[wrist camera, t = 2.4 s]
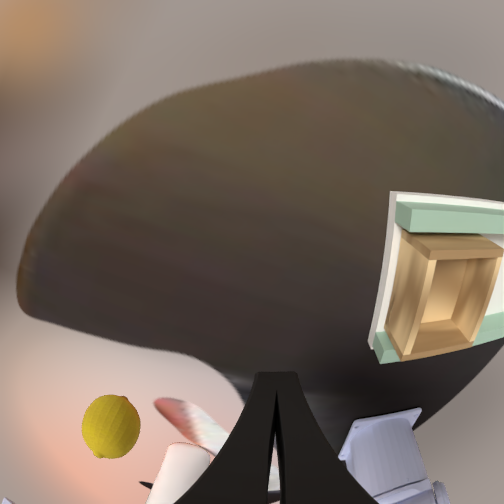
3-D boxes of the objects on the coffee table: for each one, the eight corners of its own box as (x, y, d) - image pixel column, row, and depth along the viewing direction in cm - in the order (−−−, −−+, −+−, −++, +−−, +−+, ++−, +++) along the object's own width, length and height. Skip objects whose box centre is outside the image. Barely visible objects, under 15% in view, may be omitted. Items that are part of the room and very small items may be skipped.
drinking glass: (162, 452, 28) (135, 543, 14) (163, 431, 25) (129, 540, 11) (212, 465, 28) (195, 559, 14) (221, 446, 26) (203, 559, 12)
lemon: (109, 370, 22) (73, 433, 15) (158, 401, 23) (133, 467, 16) (96, 392, 24) (66, 445, 16) (139, 419, 25) (116, 475, 17)
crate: (449, 319, 17) (471, 346, 13) (383, 327, 17) (400, 361, 14) (472, 230, 14) (504, 249, 11) (401, 228, 14) (430, 250, 11)
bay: (504, 317, 18) (520, 334, 15) (367, 341, 19) (378, 368, 16) (533, 207, 14) (555, 217, 11) (389, 190, 15) (412, 201, 12)
